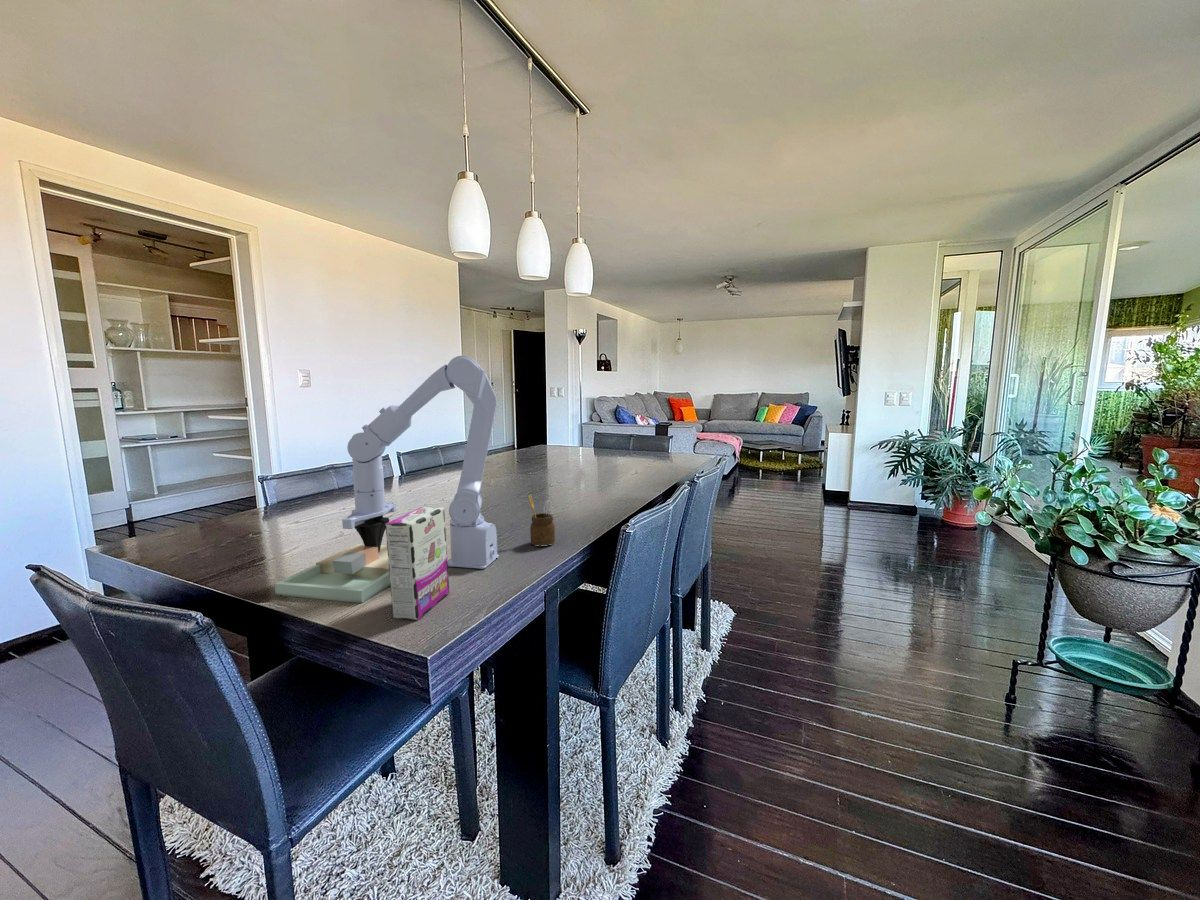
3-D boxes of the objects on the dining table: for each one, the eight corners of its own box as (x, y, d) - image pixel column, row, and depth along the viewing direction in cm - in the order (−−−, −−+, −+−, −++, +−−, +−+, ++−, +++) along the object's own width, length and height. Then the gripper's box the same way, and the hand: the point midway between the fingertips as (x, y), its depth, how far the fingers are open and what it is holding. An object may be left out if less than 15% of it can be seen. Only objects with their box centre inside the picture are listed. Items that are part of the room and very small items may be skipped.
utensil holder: (550, 548, 116) (549, 498, 115) (525, 546, 118) (524, 497, 116) (558, 540, 122) (557, 493, 120) (534, 539, 123) (533, 492, 122)
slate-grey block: (366, 565, 98) (364, 553, 98) (352, 574, 95) (351, 562, 94) (348, 563, 99) (346, 552, 99) (334, 572, 95) (332, 560, 95)
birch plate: (431, 559, 109) (430, 548, 109) (396, 581, 97) (395, 569, 96) (359, 554, 113) (358, 543, 113) (316, 574, 100) (315, 563, 100)
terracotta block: (378, 558, 102) (377, 547, 102) (365, 565, 98) (365, 553, 98) (361, 557, 103) (360, 545, 103) (348, 564, 99) (347, 552, 99)
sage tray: (396, 581, 97) (395, 570, 96) (362, 602, 87) (361, 591, 87) (316, 574, 100) (315, 564, 100) (275, 595, 90) (274, 583, 90)
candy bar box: (425, 591, 92) (420, 505, 90) (450, 593, 91) (446, 506, 89) (389, 619, 81) (383, 522, 79) (417, 621, 80) (412, 523, 78)
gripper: (374, 482, 110) (378, 541, 112) (326, 496, 96) (331, 563, 97) (403, 483, 108) (406, 543, 110) (358, 497, 94) (363, 566, 96)
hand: (373, 553), depth 104 cm, fingers closed
